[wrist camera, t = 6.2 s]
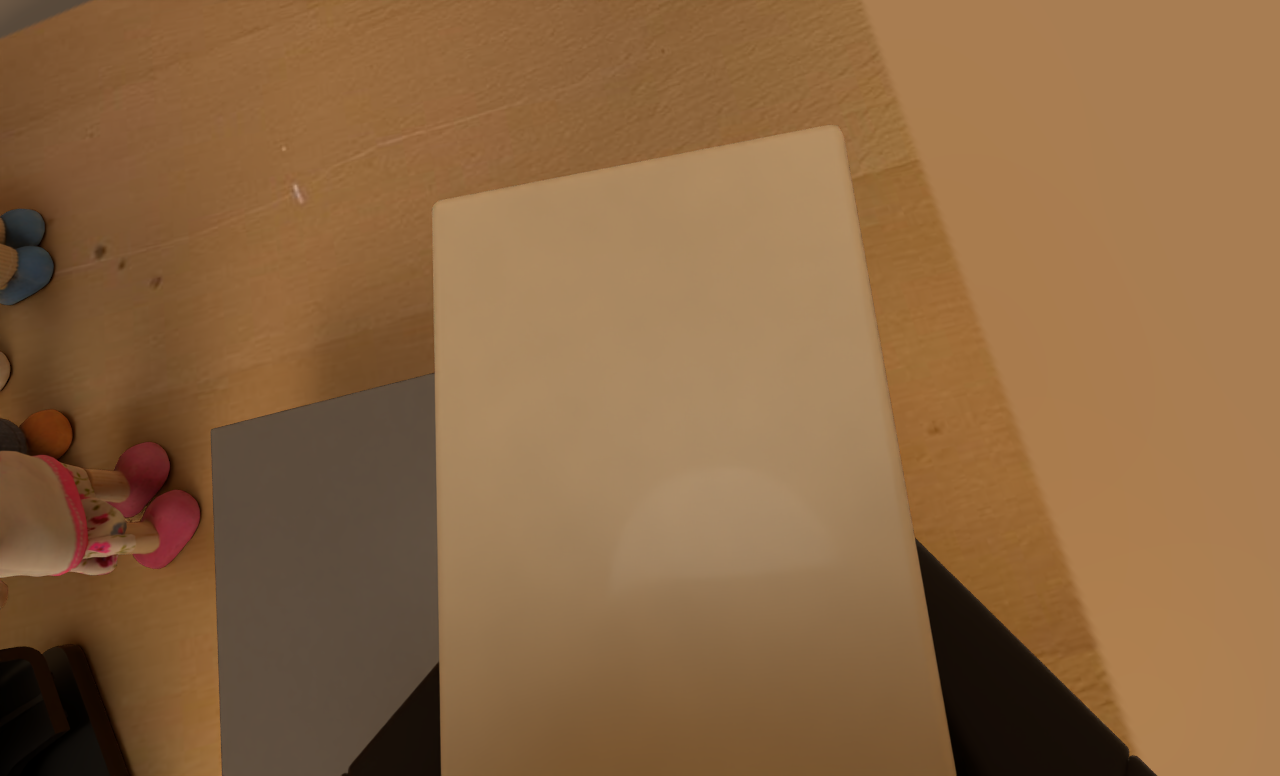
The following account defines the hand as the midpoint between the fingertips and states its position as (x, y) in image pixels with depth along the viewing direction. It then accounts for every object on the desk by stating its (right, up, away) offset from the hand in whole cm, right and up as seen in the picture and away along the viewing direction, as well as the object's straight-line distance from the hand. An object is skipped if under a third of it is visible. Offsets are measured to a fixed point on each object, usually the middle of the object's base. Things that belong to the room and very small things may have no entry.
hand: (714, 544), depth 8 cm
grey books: (-7, -5, +12) cm, 15 cm away
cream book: (+1, -3, +6) cm, 7 cm away
